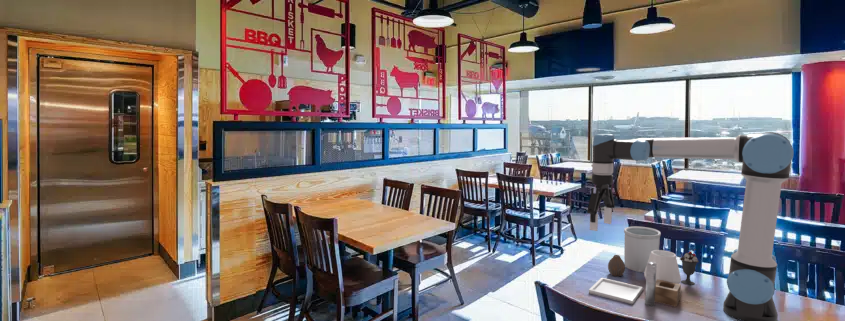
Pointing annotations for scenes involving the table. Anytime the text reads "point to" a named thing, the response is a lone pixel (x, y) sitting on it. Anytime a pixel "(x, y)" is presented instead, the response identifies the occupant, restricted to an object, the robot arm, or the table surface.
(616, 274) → the vase
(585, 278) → the table surface
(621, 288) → the tray
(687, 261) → the sundae
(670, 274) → the cup
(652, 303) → the pin
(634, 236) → the utensil holder
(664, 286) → the wooden square holder
